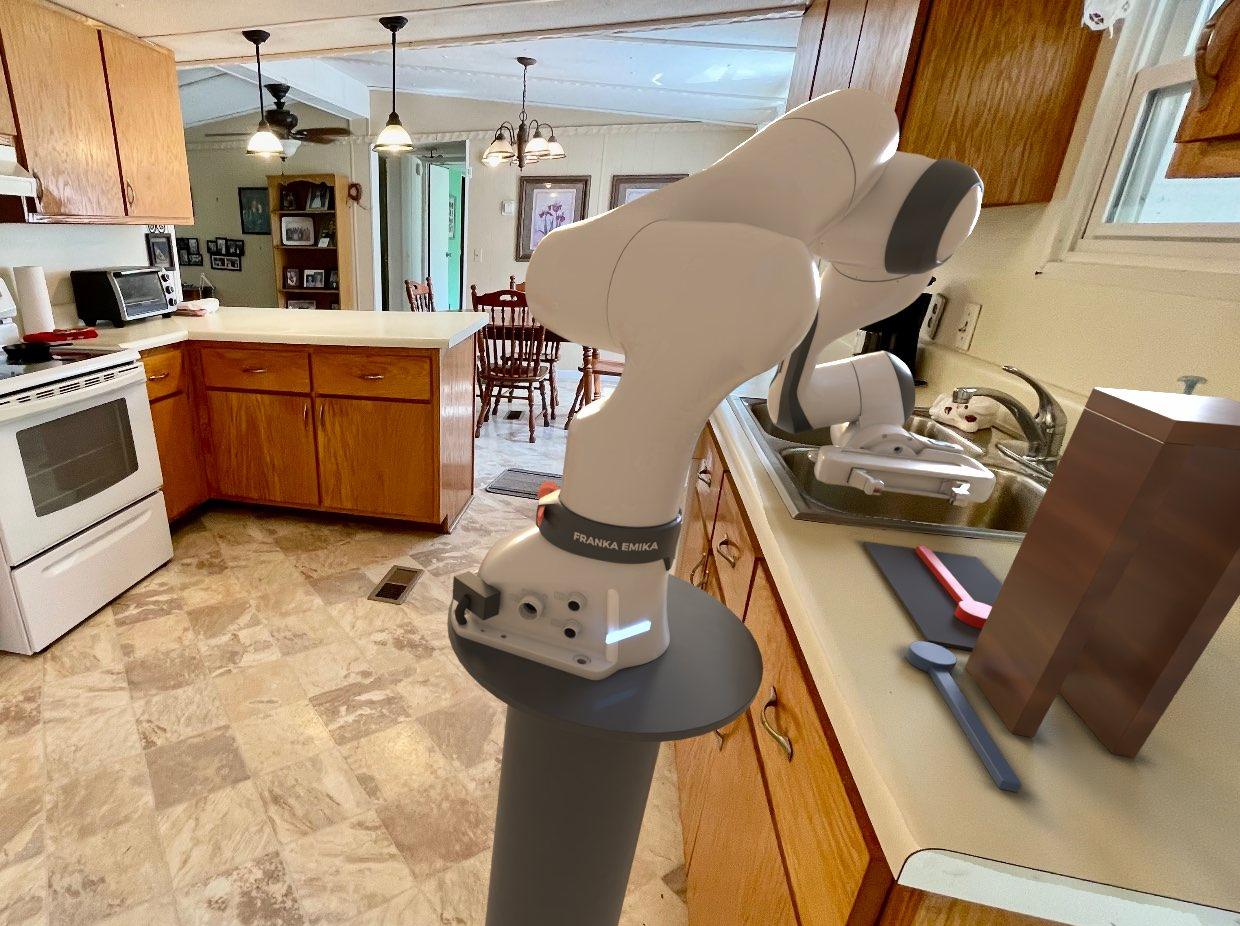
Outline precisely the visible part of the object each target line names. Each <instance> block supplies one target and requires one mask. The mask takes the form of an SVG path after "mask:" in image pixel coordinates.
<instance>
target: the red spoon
mask: <svg viewBox="0 0 1240 926" xmlns="http://www.w3.org/2000/svg"><path fill="white" fill-rule="evenodd" d="M914 549H915V551H916V552H917V554H918V555H919V556H920V557H921V559H922V560H923V561H924V562H925V564H926V565H927V566H928V567H929V569H930V570H931V571H932V572H933V573H934V575H935V576H936V577H937V578H938V580H939V581H940V582H941V583H942V585H943V586H944V587H945V588H946V590H947V591H948V592H949V593H950V595H951V596H952V597H953V598H954V599H955V601H956V602H957V603H958V606H957V608H956V611H955V616H956V617H957V618H958V619H959V620H961V621H962V622H964V623H966V624H968V625H971V626H974V627H977V628H981V629H982V628H983V626H984V624H985V622H986V620H987V617H988V615H989V613H990V611H991V609H992V607H991V606H989V605H987V604H984V603H980V602H976V601H974V600H973V599H972V598H971V596H970V595H969V594H968V593H967V592H966V591H965V589H964V588H963V587H962V586H961V585H960V584H959V582H958V581H957V580H956V579H955V578H954V577H953V575H952V574H951V573H950V572H949V571H948V570H947V568H946V567H945V566H944V565H943V564H942V563H941V561H940V560H939V559H938V558H937V557H936V556H935V554H934V553H933V552H932V551H933V550H931V548H930V547H929V546H926V545H919V544H917V545H916V547H915V548H914Z"/></svg>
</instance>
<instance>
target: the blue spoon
mask: <svg viewBox="0 0 1240 926" xmlns="http://www.w3.org/2000/svg"><path fill="white" fill-rule="evenodd" d="M905 658H906V660H907V661H908V662H909V663H910V664H911V665H912V666H914V667H915V668H917V669H919V670H921V671H923V672H925V673H928V674H929V677H930V679H932V681H933V683H934V685H935V686H936V688H937V689H938V691H939V693H940V694H941V696H942V698H943V700H944V701H945V703H946V704H947V706H948V707H949V709H950V711H951V713H952V714H953V716H954V717H955V719H956V720H957V722H958V724H959V725H960V727H961V729H962V731H963V732H964V734H965V735H966V737H967V739H968V740H969V742H970V744H971V746H972V747H973V748H974V751H975V752H976V753H977V755H978V757H979V758H980V760H981V762H982V764H983V765H984V766H985V768H986V769H987V771H988V773H989V774H990V776H991V778H992V780H993V781H994V783H995V785H996V786H997V788H998V789H1001V790H1003V791H1004V790H1005V791H1009V792H1013V793H1019V792H1020V790H1021V788H1022V786H1023V784H1022V783H1021V781H1020V780H1019V778H1018V776H1017V775H1016V773H1015V772H1014V770H1013V769H1012V767H1011V766H1010V764H1009V763H1008V762H1007V760H1006V758H1005V756H1004V755H1003V753H1002V752H1001V750H1000V749H999V747H998V745H997V744H996V743H995V741H994V740H993V738H992V736H991V735H990V734H989V732H988V731H987V729H986V728H985V726H984V724H983V723H982V721H981V719H980V718H979V717H978V715H977V714H976V712H975V711H974V709H973V708H972V706H971V704H970V703H969V702H968V700H967V698H966V697H965V695H964V694H963V692H962V691H961V689H960V688H959V686H958V684H957V683H956V681H955V680H954V678H953V677H952V675H951V674H952V673H953V672H954V670H955V667H956V665H957V662H958V660H957V659H958V658H957V657H956V656H955V654H954V653H953V652H952V651H950V650H949V649H947V648H946V647H944V646H939V645H936V644H933V643H930V642H926V641H925V640H924V641H923V640H915V641H912V642H911V643H909V645H908V648H907V650H906V651H905Z"/></svg>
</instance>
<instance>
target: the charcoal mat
mask: <svg viewBox="0 0 1240 926" xmlns="http://www.w3.org/2000/svg"><path fill="white" fill-rule="evenodd" d="M862 545H863V547H864V549H865V550H866V551H867V553H868V554H869V556H870V558H871V559H872V561H873V562H874V564H875V565H876V567H877V568H878V570H879V572H880V573H881V575H882V576H883V578H884V579H885V581H886V583H887V584H888V585H889V587H890V589H891V590H892V592H893V593H894V595H895V596H896V598H897V599H898V601H899V602H900V604H901V605H902V607H903V608H904V610H905V611H906V613H907V615H908V616H909V617H910V620H911V621H912V623H914V626H915V627H916V628H917V630H918V632H919V633H920V635H921V636H922V637H923V639H924V642H930V643H933V644H936V645H939V646H941V647H944V648H952V649H956V650H957V649H958V650H964V651H970V652H972V650H973V648H974V646H975V643H976V641H977V639H978V637H979V635H980V633H981V630H982V629H981V628H977V627H974V626H971V625H968V624H966V623H964V622H962V621H961V620H959V619H958V618H957V617H956V616H955V611H956V608H957V606H958V603H957V602H956V601H955V599H954V598H953V597H952V596H951V595H950V593H949V592H948V591H947V590H946V588H945V587H944V586H943V585H942V583H941V582H940V581H939V580H938V578H937V577H936V576H935V575H934V573H933V572H932V571H931V570H930V569H929V567H928V566H927V565H926V564H925V562H924V561H923V560H922V559H921V557H920V556H919V555H918V554H917V552H916V551H915V549H916V548H913V547H906V546H900V545H892V544H886V543H885V544H884V543H877V542H871V541H863V542H862ZM931 551H932V552H933V553H934V554H935V556H936V557H937V558H938V559H939V560H940V561H941V563H942V564H943V565H944V566H945V567H946V568H947V570H948V571H949V572H950V573H951V574H952V575H953V577H954V578H955V579H956V580H957V581H958V582H959V584H960V585H961V586H962V587H963V588H964V589H965V591H966V592H967V593H968V594H969V595H970V596H971V598H972V599H973V600H974V601H976V602H980V603H984V604H987V605H989V606H991V607H993V604H994V602H995V600H996V598H997V596H998V594H999V591H1000V589H1001V587H1002V585H1003V583H1001V581H999V580H998V579H997V577H996V576H995V575H994V574H993V573H992V572H991V571H990V570H989V569H988V568H987V567H986V566H985V565H984V564H983V563H982V562H981V561H980V560H979V558H977V556H970V555H964V554H956V553H949V552H943V551H935V550H931Z"/></svg>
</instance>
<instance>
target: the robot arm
mask: <svg viewBox="0 0 1240 926" xmlns="http://www.w3.org/2000/svg"><path fill="white" fill-rule="evenodd" d="M899 136H900V125H899V120H898V116H897V114H896V112H895V109H894V107H893V106H892V105H891V103H890V102H889V101H888V100H887V99H886V97H883V95H881V94H879V93H877V92H875V91H873V90H871V89H866V88H861V87H849V88H848V87H847V88H842V89H838V90H834V91H831V92H829V93H826V94H822V95H821V96H819V97H816V98H814V99H812V100H810V101H808V102H805V103H803V104H801V105H799V106H797V107H796V108H793V109H791V110H790V111H789V112H787V113H785V114H783V115H781V116H780V117H779V118H777V119H775V120H774V121H772V122H771V123H769V124H767V125H766V126H764V127H763V128H762V129H760V131H758V132H757V133H755V134H754V135H752V136H750V138H748V139H747V140H746V141H744V142H742V143H741V144H740V145H738V146H737V147H736V148H734V149H733V150H731V151H730V152H729V153H727V154H726V155H724V156H723V157H721V158H720V159H718V160H717V161H715V162H714V163H712V164H711V165H709V166H707V167H705V168H704V169H701V170H699V171H697V172H695V173H693V174H691V175H689V176H686V177H684V178H681V179H680V180H677V181H674V182H672V183H669V184H667V185H665V186H662V187H660V188H658V189H655V190H653V191H651V192H649V193H646V194H644V195H642V196H640V197H637V198H635V199H634V200H631V201H629V202H627V203H624V204H622V205H619V206H618V207H615V208H614V209H611V210H609V211H607V212H604V213H601V214H599V215H596V216H592V217H589V218H586V219H584V220H580V221H577V222H574V223H570V224H567V225H563V226H560V227H557V228H555V229H553V230H551V231H550V232H549V233H547V234H546V235H545V236H544V237H543V238H542V239H541V240H540V241H539V242H538V244H537V245H536V247H535V248H534V250H533V252H532V254H531V257H530V259H529V262H528V265H527V268H526V273H525V280H524V281H525V282H524V293H525V295H524V296H525V300H526V304H527V308H528V310H529V313H530V314H531V316H532V317H533V319H534V320H535V321H536V322H537V323H538V324H539V325H540V326H542V327H544V328H546V329H547V330H549V331H550V332H552V333H553V334H556V335H557V336H559V337H562V338H563V339H565V340H567V341H569V342H571V343H573V344H576V345H579V346H584V347H588V348H593V349H596V350H597V349H598V350H601V351H606V352H610V353H614V354H619V355H623V356H624V365H623V369H622V373H621V375H620V377H619V380H618V383H617V385H616V387H615V389H614V390H613V391H612V393H611V394H609V395H605V396H602V397H600V398H598V399H596V400H594V401H592V402H589V403H588V404H587V405H585V406H584V407H582V408H581V409H580V410H579V411H578V412H577V413H576V414H575V415H574V417H572V419H571V421H570V423H569V426H568V429H567V436H566V443H565V453H564V460H563V468H562V475H561V483H560V484H561V485H560V488H559V486H557V483H555V482H553V481H551V480H550V481H549V480H548V481H545V482H543V483H542V484H541V485H540V487H539V490H538V492H537V499H538V503H537V508H536V512H535V513H536V515H535V522H534V523H532V524H529V525H528V526H526V527H524V528H522V529H519V530H517V531H515V532H512V533H509V534H508V535H506V536H504V537H502V538H500V539H498V540H497V541H496V542H494V544H493V545H492V546H491V547H490V548H489V550H488V551H487V552H486V554H485V556H484V557H483V560H482V561H481V563H480V566H479V568H478V569H477V570H475V571H474V572H471V571H470V570H468V571H465V572H462V573H459V574H456V575H454V576H453V579H452V581H453V582H452V598H453V599H454V601H453V605H452V610H451V623H452V626H453V628H454V630H455V632H456V634H457V635H459V636H461V637H464V638H467V639H470V640H473V641H475V642H478V643H481V644H484V645H488V646H491V647H494V648H497V649H500V650H503V651H506V652H509V653H512V654H515V655H518V656H521V657H524V658H527V659H530V660H533V661H536V662H539V663H542V664H545V665H548V666H551V667H554V668H557V669H560V670H563V671H566V672H569V673H572V674H575V675H578V676H581V677H584V678H587V679H590V680H601V679H604V678H606V677H608V676H610V675H611V674H613V673H614V672H616V671H617V670H619V669H623V668H627V667H632V666H637V665H642V664H645V663H648V662H650V661H652V660H655V659H656V658H658V657H659V656H661V655H662V654H663V653H664V652H665V651H666V649H667V648H668V645H669V642H670V633H669V627H668V617H667V589H668V576H669V574H670V570H672V567H673V564H674V561H675V560H676V558H677V553H678V549H679V546H680V545H679V543H680V539H681V535H682V529H683V511H682V508H681V503H682V499H683V493H684V489H685V486H686V482H687V477H688V474H689V469H690V466H691V462H692V459H693V456H694V452H695V448H696V446H697V443H698V440H699V437H700V436H701V434H702V431H703V430H704V427H705V426H706V424H707V423H708V420H709V419H710V417H711V416H712V415H713V413H714V412H715V411H716V410H717V408H718V407H719V405H721V404H722V402H723V401H724V400H725V399H726V398H727V397H728V396H729V395H730V394H731V393H734V391H735V390H736V389H737V388H739V387H740V386H742V385H743V384H745V383H746V382H748V381H750V380H753V378H755V377H758V376H759V375H762V374H764V373H767V372H768V371H770V370H772V369H773V368H775V367H777V369H776V371H775V374H774V376H773V377H772V379H771V381H770V383H769V386H768V391H767V396H766V404H767V412H768V415H769V418H770V419H771V422H772V424H773V426H775V427H777V428H779V429H780V430H782V431H784V432H787V433H788V434H791V435H799V434H803V433H807V432H811V431H815V430H816V429H823V428H826V427H827V428H828V427H830V430H829V432H830V439H831V442H832V445H830V444H829V445H826V444H825V445H822V446H821V447H819V448H818V449H816V450H812V449H811V450H809V451H808V452H807V458H808V459H809V460H810V461H811V462H813V463H815V464H814V467H813V472H814V476H815V478H816V481H818V482H820V483H823V484H827V485H834V486H841V487H850V488H855V489H857V490H861V491H864V493H865V494H866V495H868V496H879V497H880V496H881V495H882V492H890V493H896V494H897V493H898V494H905V495H913V496H921V497H929V498H937V499H945V500H946V501H947V503H948V504H950V505H951V506H953V507H954V506H955V507H961V508H962V507H963V508H966V507H967V506H968V504H969V503H976V504H983V503H986V502H987V501H988V500H989V499H990V497H991V495H992V493H993V491H994V490H995V486H996V484H997V483H996V482H997V477H996V475H995V474H994V473H993V472H991V471H990V469H988V468H987V467H986V466H984V465H983V464H982V463H981V462H980V461H978V460H976V459H974V458H973V457H970V456H968V455H965V448H963V447H962V446H960V445H958V444H953V443H950V442H945V441H941V440H937V439H932V438H928V437H924V436H922V435H919V434H917V433H914V432H911V431H907V430H906V429H904V428H903V426H905V425H906V424H907V423H908V422H909V420H910V418H911V416H912V414H913V412H914V410H915V407H916V387H915V381H914V378H913V374H912V373H911V371H910V369H909V367H908V365H906V363H905V362H903V361H902V360H901V359H900V358H899V357H898V356H896V355H894V354H893V353H891V352H889V351H886V350H880V351H874V352H869V353H864V354H859V355H856V356H851V357H847V358H844V359H838V360H835V361H830V362H826V363H825V362H824V363H820V364H818V361H819V358H820V357H821V353H822V352H823V350H825V348H827V347H828V346H829V345H831V344H832V343H833V342H835V341H837V340H839V339H840V338H842V337H845V336H846V335H848V334H851V333H853V332H855V331H857V330H860V329H862V328H865V327H867V326H870V325H872V324H874V323H878V322H879V321H882V320H885V319H887V318H890V317H891V316H894V315H896V314H897V313H899V312H901V311H903V310H904V309H905V308H908V307H909V306H910V305H911V304H913V303H914V302H915V301H916V300H917V299H918V298H919V297H920V296H921V295H922V294H923V292H924V291H925V290H926V288H927V286H928V285H929V283H930V281H931V280H932V278H933V275H934V273H935V271H936V268H938V267H940V266H942V265H945V264H946V262H948V261H949V260H950V259H951V258H952V256H953V255H954V254H955V253H956V252H957V250H958V249H959V248H960V247H961V246H962V245H963V244H964V243H965V242H966V240H967V238H968V237H969V236H970V234H971V233H972V231H973V229H974V227H975V225H976V223H977V220H978V217H979V215H980V211H981V206H982V205H981V204H982V202H983V201H982V200H983V197H984V189H985V188H984V187H985V185H984V183H983V181H982V179H981V177H980V174H979V173H978V171H977V169H975V168H974V167H972V166H970V165H968V164H965V163H963V162H960V161H957V160H955V159H951V158H948V157H941V158H939V159H935V158H931V157H928V156H926V155H923V154H919V153H910V152H905V151H899V150H897V148H898V144H899V140H900V139H899V138H900V137H899ZM816 259H818V260H821V261H822V260H823V262H827V265H826V267H825V269H824V270H823V272H822V274H821V276H820V270H819V267H818V264H817V261H816Z"/></svg>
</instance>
